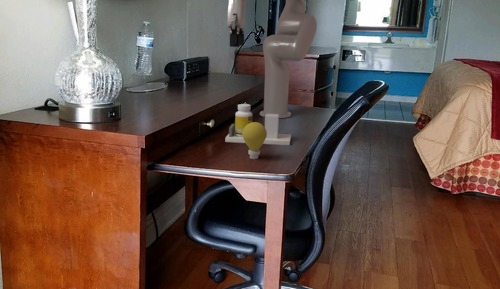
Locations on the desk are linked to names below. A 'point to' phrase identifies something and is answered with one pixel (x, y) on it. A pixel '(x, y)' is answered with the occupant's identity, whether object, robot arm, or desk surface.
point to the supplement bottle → (242, 118)
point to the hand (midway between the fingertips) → (237, 45)
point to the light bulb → (254, 138)
